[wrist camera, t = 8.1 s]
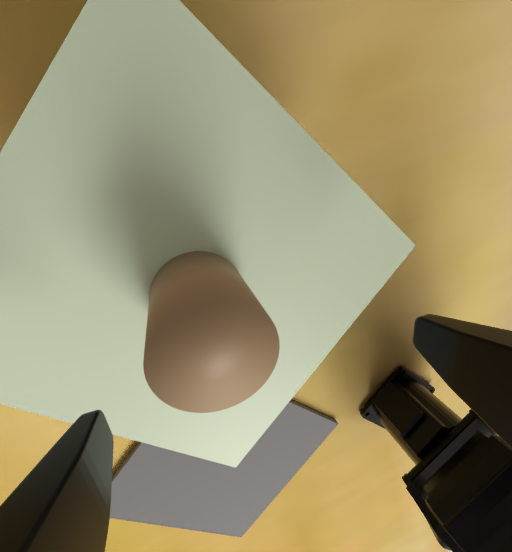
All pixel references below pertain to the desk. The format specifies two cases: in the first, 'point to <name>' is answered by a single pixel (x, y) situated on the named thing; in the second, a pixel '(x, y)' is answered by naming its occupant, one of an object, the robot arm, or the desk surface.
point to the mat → (216, 478)
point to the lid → (173, 239)
